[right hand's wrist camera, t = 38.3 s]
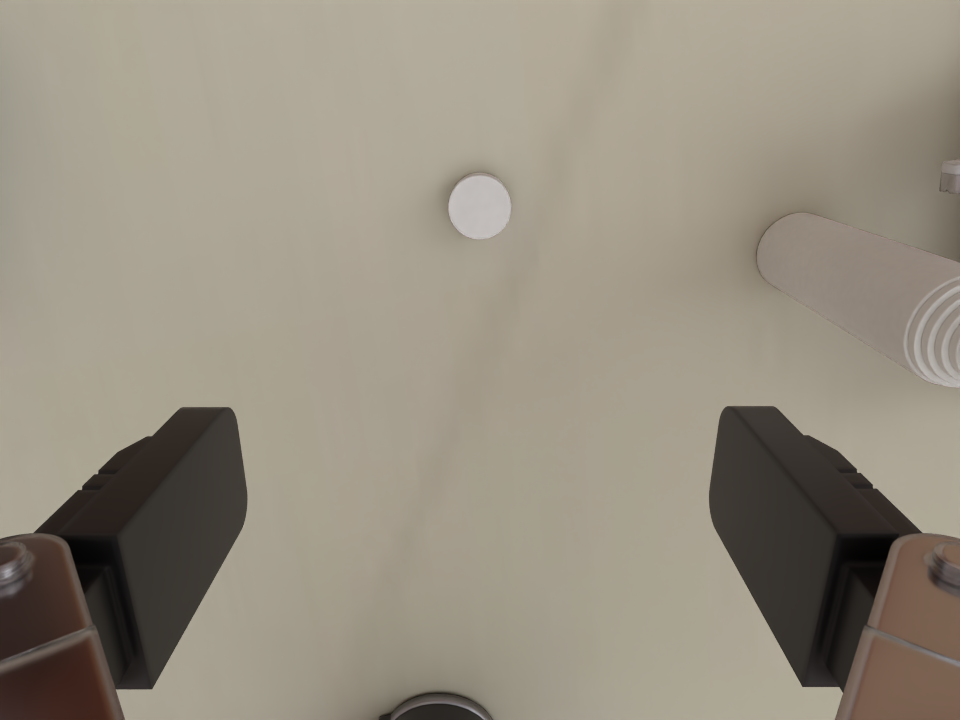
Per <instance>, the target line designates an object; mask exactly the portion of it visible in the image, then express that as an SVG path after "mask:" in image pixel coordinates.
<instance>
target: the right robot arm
mask: <svg viewBox="0 0 960 720" xmlns="http://www.w3.org/2000/svg"><path fill="white" fill-rule="evenodd" d="M709 506H710V513H711V518H712V522H713V525H714V527H715V529H716V531H717V533H718V535H719V537H720V539H721V540H722V542H723V544H724V546H725V548H726V549H727V551H728V553H729V555H730V557H731V558H732V560H733V562H734V564H735V566H736V567H737V569H738V571H739V573H740V575H741V576H742V578H743V580H744V582H745V584H746V585H747V587H748V589H749V591H750V593H751V594H752V596H753V598H754V600H755V602H756V604H757V605H758V607H759V609H760V611H761V613H762V614H763V616H764V618H765V620H766V622H767V623H768V625H769V627H770V629H771V631H772V632H773V634H774V636H775V638H776V640H777V641H778V643H779V645H780V647H781V649H782V650H783V652H784V654H785V656H786V658H787V659H788V661H789V663H790V665H791V667H792V668H793V670H794V672H795V674H796V676H797V678H798V679H799V681H800V683H801V685H802V687H840V689H841V690H842V692H843V696H842V699H841V702H840V705H839V709H838V712H837V715H836V718H835V720H960V539H958V538H954V537H950V536H945V535H939V534H930V533H922V532H921V531H920V530H919V529H918V528H917V527H916V526H915V525H914V524H913V523H912V522H911V521H910V520H909V519H908V518H906V517H905V516H904V515H903V514H902V513H901V512H900V511H899V510H898V509H897V508H896V507H895V506H894V505H893V504H892V503H891V502H890V501H889V500H888V499H887V498H886V497H885V496H884V495H883V494H882V493H881V492H880V491H879V490H878V489H873V485H872V484H871V483H870V482H869V481H868V480H867V479H866V478H865V477H864V476H863V475H862V474H861V473H857V469H856V468H855V467H854V466H853V465H852V464H851V463H850V462H849V461H848V460H847V459H846V458H845V457H844V456H842V455H841V454H840V453H839V452H838V451H837V450H835V449H833V448H831V447H829V446H828V445H826V444H824V443H822V442H820V441H818V440H816V439H815V438H813V437H811V436H809V435H803V434H802V433H801V432H800V431H799V430H798V429H797V428H796V427H795V426H794V425H793V424H792V423H791V422H790V421H789V420H788V419H787V418H786V417H785V416H784V415H783V414H782V413H781V412H780V411H779V410H778V409H777V408H776V407H774V406H727V407H725V408H724V409H723V411H722V413H721V416H720V420H719V426H718V433H717V440H716V447H715V454H714V461H713V468H712V475H711V482H710V490H709ZM246 511H247V487H246V480H245V473H244V466H243V459H242V452H241V445H240V438H239V431H238V424H237V419H236V416H235V414H234V412H233V410H232V409H231V408H229V407H182V408H180V409H179V410H178V411H177V412H176V413H175V414H174V415H173V416H172V417H171V418H170V419H169V420H168V421H167V422H166V423H165V424H164V425H163V426H162V427H161V428H160V429H159V430H158V431H157V432H156V433H155V434H154V435H153V436H152V437H145V438H143V439H141V440H140V441H138V442H136V443H134V444H132V445H130V446H128V447H126V448H125V449H123V450H121V451H119V452H117V453H116V454H115V455H114V456H113V457H112V458H111V459H110V460H109V461H108V462H107V463H106V464H105V465H104V466H103V467H102V468H101V469H100V470H99V473H98V474H94V475H93V476H92V477H91V478H90V479H89V480H88V481H87V482H86V483H85V484H84V485H83V486H82V490H78V491H77V492H76V493H75V494H74V495H73V496H72V497H70V498H69V499H68V500H67V501H66V502H65V503H64V504H63V505H62V506H61V507H60V508H59V509H58V510H57V511H56V512H55V513H54V514H53V515H52V516H51V517H50V518H49V519H48V520H47V521H45V522H44V523H43V524H42V525H41V526H40V527H39V528H38V529H37V530H36V531H35V532H34V533H30V534H21V535H15V536H10V537H6V538H2V539H0V720H125V718H124V715H123V712H122V709H121V705H120V702H119V699H118V696H117V692H116V689H152V688H153V687H154V685H155V683H156V681H157V679H158V678H159V676H160V674H161V672H162V671H163V669H164V667H165V665H166V663H167V662H168V660H169V658H170V656H171V655H172V653H173V651H174V649H175V647H176V646H177V644H178V642H179V640H180V638H181V637H182V635H183V633H184V631H185V630H186V628H187V626H188V624H189V622H190V621H191V619H192V617H193V615H194V614H195V612H196V610H197V608H198V606H199V605H200V603H201V601H202V599H203V597H204V596H205V594H206V592H207V590H208V589H209V587H210V585H211V583H212V581H213V580H214V578H215V576H216V574H217V572H218V571H219V569H220V567H221V565H222V564H223V562H224V560H225V558H226V556H227V555H228V553H229V551H230V549H231V548H232V546H233V544H234V542H235V540H236V539H237V537H238V535H239V533H240V531H241V529H242V527H243V524H244V521H245V517H246ZM379 720H492V719H491V717H490V716H489V714H488V713H487V712H486V711H485V710H484V709H483V708H482V707H480V706H479V705H477V704H476V703H474V702H472V701H470V700H468V699H466V698H463V697H460V696H456V695H451V694H428V695H423V696H419V697H416V698H413V699H411V700H409V701H407V702H405V703H403V704H402V705H400V706H399V707H398V708H397V709H395V711H394V712H393V713H392V714H389V715H384V716H380V717H379Z"/></svg>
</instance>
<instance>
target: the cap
mask: <svg viewBox="0 0 960 720" xmlns="http://www.w3.org/2000/svg"><path fill="white" fill-rule="evenodd" d="M448 212H449V217H450V219H451V222H452V224H453V225H454V227H455V228H456V229H457V230H458V231H459V232H460V233H461V234H463V235H464V236H466V237H469V238H472V239H479V240H481V239H488V238H491V237H493V236H495V235H497V234H498V233H500V232H501V231H502V230H503V229H504V227H505V226H506V224H507V223H508V221H509V218H510V215H511V200H510V197H509V193H508V191H507V189H506V187H505V186H504V184H503V183H502V182H501V181H500V180H499V179H498V178H496V177H495V176H493V175H490V174H487V173H473V174H469V175H467V176H465V177H463V178H462V179H461V180H460V181H459V182H458V183H457V184H456V185H455V186H454V188H453V190H452V192H451V195H450V198H449V203H448Z"/></svg>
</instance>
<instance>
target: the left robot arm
mask: <svg viewBox="0 0 960 720" xmlns="http://www.w3.org/2000/svg"><path fill="white" fill-rule="evenodd" d="M940 191H942V192H947V191H948V192H949V193H952V194H960V159H958V160H951V161H945V162H942V168H941V181H940Z"/></svg>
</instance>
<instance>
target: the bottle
mask: <svg viewBox="0 0 960 720" xmlns="http://www.w3.org/2000/svg"><path fill="white" fill-rule="evenodd" d="M757 265H758V269H759V271H760V273H761V275H762V276H763V278H764V279H765V280H766V281H767V282H768V283H769V284H771V285H773V286H774V287H776V288H777V289H779V290H781V291H782V292H784V293H785V294H787V295H789V296H790V297H792V298H793V299H795V300H797V301H798V302H800V303H802V304H803V305H805V306H806V307H808V308H810V309H811V310H813V311H814V312H816V313H818V314H819V315H821V316H822V317H824V318H826V319H827V320H829V321H830V322H832V323H834V324H835V325H837V326H838V327H840V328H842V329H843V330H845V331H847V332H848V333H850V334H851V335H853V336H855V337H856V338H858V339H859V340H861V341H863V342H864V343H866V344H867V345H869V346H871V347H872V348H874V349H875V350H877V351H879V352H880V353H882V354H884V355H885V356H887V357H888V358H890V359H892V360H893V361H895V362H896V363H898V364H900V365H901V366H903V367H904V368H906V369H908V370H909V371H911V372H912V373H914V374H916V375H917V376H919V377H921V378H922V379H924V380H926V381H928V382H930V383H933V384H937V385H943V386H947V387H960V262H957V261H954V260H951V259H948V258H945V257H942V256H939V255H936V254H933V253H930V252H927V251H923V250H920V249H917V248H914V247H911V246H908V245H905V244H902V243H899V242H896V241H893V240H890V239H887V238H884V237H881V236H878V235H875V234H872V233H869V232H866V231H863V230H860V229H857V228H854V227H851V226H848V225H845V224H842V223H839V222H836V221H833V220H830V219H827V218H824V217H821V216H818V215H815V214H811V213H794V214H790V215H787V216H785V217H783V218H781V219H779V220H778V221H776V222H775V223H774V224H772V225H771V226H770V227H769V228H768V230H767V231H766V232H765V233H764V235H763V237H762V238H761V240H760V243H759V246H758V249H757Z"/></svg>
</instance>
